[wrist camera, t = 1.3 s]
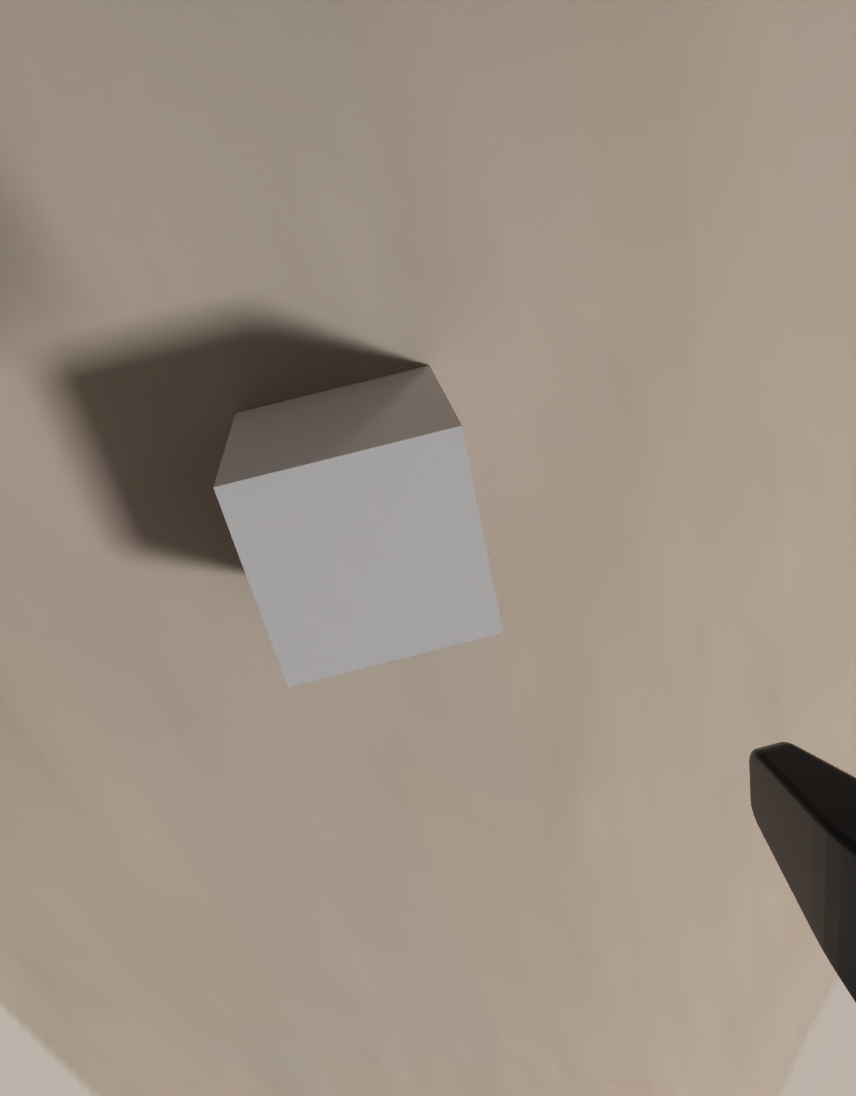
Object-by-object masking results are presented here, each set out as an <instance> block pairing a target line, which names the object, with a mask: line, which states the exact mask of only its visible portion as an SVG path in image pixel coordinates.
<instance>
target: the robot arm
mask: <svg viewBox="0 0 856 1096" xmlns="http://www.w3.org/2000/svg"><path fill="white" fill-rule="evenodd" d="M749 766H750V794H751V806H752V810H753V814H754V817H755V819H756V822H757V824H758V826H759V828H760V830H761V832H762V834H763V836H764V838H765V839H766V841H767V843H768V845H769V847H770V849H771V851H772V853H773V855H774V857H775V859H776V861H777V863H778V865H779V867H780V869H781V871H782V873H783V875H784V877H785V878H786V880H787V882H788V884H789V886H790V888H791V890H792V892H793V894H794V896H795V898H796V900H797V902H798V904H799V906H800V908H801V910H802V912H803V914H804V916H805V917H806V919H807V921H808V923H809V925H810V927H811V929H812V931H813V933H814V935H815V937H816V939H817V940H818V942H819V944H820V946H821V948H822V950H823V951H824V953H825V955H826V956H827V958H828V960H829V961H830V963H831V964H832V966H833V968H834V969H835V971H836V973H837V974H838V976H839V977H840V979H841V980H842V982H843V983H844V985H845V986H846V988H847V990H848V991H849V993H850V994H851V996H852V997H853V998H854V1000H855V1002H856V778H855V777H853V776H852V775H850V774H848V773H846V772H844V771H842V770H840V769H838V768H837V767H835V766H833V765H831V764H829V763H827V762H825V761H823V760H822V759H820V758H818V757H816V756H814V755H812V754H810V753H808V752H807V751H805V750H803V749H801V748H799V747H797V746H795V745H793V744H791V743H787V742H780V743H776V744H772V745H768V746H765V747H761V748H757V749H755V750H753V751H752V752H751V754H750V759H749Z"/></svg>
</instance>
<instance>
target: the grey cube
mask: <svg viewBox="0 0 856 1096" xmlns="http://www.w3.org/2000/svg"><path fill="white" fill-rule="evenodd" d="M213 488H214V491H215V494H216V496H217V499H218V502H219V504H220V507H221V510H222V512H223V515H224V518H225V520H226V523H227V526H228V528H229V531H230V534H231V537H232V539H233V542H234V545H235V547H236V550H237V553H238V555H239V558H240V561H241V563H242V566H243V569H244V571H245V574H246V577H247V580H248V582H249V585H250V588H251V590H252V593H253V596H254V598H255V601H256V604H257V606H258V609H259V612H260V614H261V617H262V620H263V623H264V625H265V628H266V631H267V633H268V636H269V639H270V641H271V644H272V647H273V649H274V652H275V655H276V657H277V660H278V663H279V665H280V668H281V671H282V674H283V676H284V679H285V682H286V684H287V687H292V686H296V685H300V684H304V683H308V682H312V681H316V680H319V679H323V678H327V677H331V676H335V675H339V674H343V673H347V672H351V671H355V670H359V669H363V668H367V667H371V666H375V665H379V664H383V663H386V662H390V661H394V660H398V659H402V658H406V657H410V656H414V655H418V654H422V653H426V652H430V651H434V650H438V649H442V648H446V647H449V646H453V645H457V644H461V643H465V642H469V641H473V640H477V639H481V638H485V637H489V636H493V635H497V634H501V633H504V632H503V627H502V622H501V617H500V612H499V607H498V602H497V597H496V592H495V588H494V583H493V578H492V573H491V568H490V563H489V558H488V553H487V548H486V543H485V538H484V533H483V528H482V523H481V518H480V513H479V508H478V503H477V498H476V494H475V489H474V484H473V479H472V474H471V469H470V464H469V459H468V454H467V449H466V444H465V439H464V434H463V429H462V425H461V423H460V421H459V420H458V418H457V416H456V414H455V412H454V410H453V408H452V407H451V405H450V403H449V401H448V399H447V397H446V395H445V393H444V392H443V390H442V388H441V386H440V384H439V382H438V380H437V379H436V377H435V375H434V373H433V371H432V369H431V367H430V366H429V365H428V366H424V367H420V368H416V369H412V370H408V371H404V372H400V373H396V374H392V375H388V376H384V377H380V378H376V379H372V380H368V381H364V382H360V383H356V384H352V385H348V386H344V387H339V388H335V389H331V390H327V391H323V392H319V393H315V394H311V395H307V396H303V397H299V398H295V399H291V400H287V401H283V402H279V403H275V404H271V405H267V406H263V407H259V408H255V409H251V410H247V411H242V412H238V413H235V416H234V420H233V423H232V426H231V430H230V433H229V436H228V440H227V443H226V446H225V450H224V453H223V456H222V460H221V463H220V466H219V470H218V473H217V477H216V480H215V483H214V487H213Z"/></svg>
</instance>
